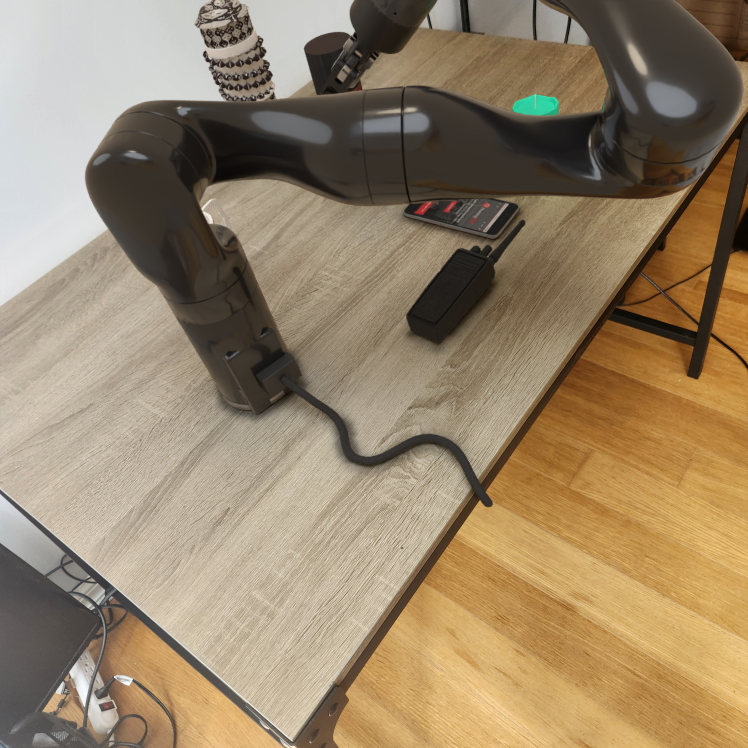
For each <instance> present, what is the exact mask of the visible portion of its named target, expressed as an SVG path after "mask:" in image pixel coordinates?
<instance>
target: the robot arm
mask: <svg viewBox="0 0 748 748" xmlns="http://www.w3.org/2000/svg"><path fill="white" fill-rule="evenodd" d="M538 1H539V2H540V3H542V4H543V5H544V6H546V7H548V8H550V9H551V10H554V11H555V12H557V13H560V14H563V15H565V16H567V17H569V18H571V19H572V20H573V21H575V22H576V23H577V24H578V25H579V26H580V27H581V29H582V30H583V31H584V33H585V34H586V35H587V37H588V39H589V40H590V42H591V44H592V46H593V49H594V51H595V53H596V55H597V57H598V60H599V62H600V65H601V67H602V71H603V73H604V77H605V79H606V80H605V81H606V83H607V89H606V91H605V96H604V99H603V103H602V107H601V109H597V110H592V111H585V112H578V113H577V112H576V113H575V112H574V113H564V114H563V113H562V114H559V115H527V114H521V113H517V112H513V111H512V110H510V109H507V108H503V107H500V106H497V105H494V104H493V103H492V104H491V103H489V102H486V101H484V100H481V99H479V98H476V97H473V96H471V95H468V94H466V93H462V92H460V91H456V90H453V89H450V88H446V87H441V86H435V85H428V84H427V85H426V84H420V85H419V84H415V85H406V86H405V85H401V86H400V85H399V86H389V87H377V88H369V89H363V90H359V91H352V92H346V91H347V90H348V88H353V87H355V85H356V84H357V83H358V81H359V80H361V78H362V77H363V75H364V74H365V73H366V71H369V70H370V69H371V68H372V67H373V65H374V64H375V62H376V61H377V59H378V58H379V57H380V56H381V54H386V55H395V54H398V53H400V52H402V51H403V50H404V48H406V46H407V44H408V43H409V42H410V41H411V39H412V37H413V36H414V35H415V34H416V32H417V31H418V29H419V28H420V26H421V25H422V24H423V22H424V21H425V19H426V18H427V17H428V15H429V14H430V13H431V11H432V10H433V8H434V7H435V5H436V4H437V2H438V0H353V1H352V3H351V4H350V7H349V12H348V13H349V20H350V24H351V26H352V28H353V29H354V32H353V33H352V34H351V35H350V37H349V39H348V40H347V42H346V43H345V45H344V46H343V52H342V53H341V55H340V56H339V58H338V59H337V61H336V62H335V64H334V65H333V67H332V69H331V71H332V73H331V74H330V76H329V78H328V79H327V81H326V82H325V84H324V86H322V87H321V89H320V90H321V91H320V92H319V93H320V94H321V95H317V94H315V95H303V96H292V97H282V98H276V99H273V100H263V101H223V100H198V99H197V100H196V99H195V100H194V99H193V100H191V99H156V100H146V101H142V102H139V103H137V104H133V105H132V106H130V107H128V108H127V109H125V110H123V112H122V113H120V114H119V115H118V116H117V117H116V119H115V120H114V121H113V123H112V124H111V126H110V127H109V128H108V130H107V132H106V133H105V134H104V136H103V137H102V139H101V141H100V142H99V143H98V145H97V147H96V149H95V150H94V152H93V153H92V155H91V156H90V158H89V160H88V162H87V164H86V167H85V170H84V184H85V188H86V191H87V195H88V198H89V199H90V202H91V203H92V205H93V208H94V209H95V211H96V213H97V215H98V216H99V218H100V219H101V221H102V223H104V225H105V227H106V228H107V230H108V231H109V233H110V234H111V235H112V237H113V238H114V240H115V241H116V242H117V244H118V245H119V247H120V248H121V249H122V251H123V252H124V254H125V255H126V257H127V258H128V260H129V261H130V262H131V264H132V265H133V266H134V268H135V269H136V270H137V271H138V272H139V273H140V274H141V276H143V277H144V278H145V279H146V280H148V281H149V282H151V283H152V284H153V285H155V286H156V287H157V290H158V291H159V292H160V294H161V295H162V297H163V298H164V300H165V301H166V303H167V305H168V307H169V309H170V310H171V311H172V314H173V315H174V317H175V319H176V320H177V322H178V324H179V325H180V327H181V329H182V330H183V332H184V333H185V335H186V337H187V339H188V340H189V342H190V344H191V345H192V347H193V349H194V351H195V352H196V354H197V356H198V357H199V358H200V360H201V362H202V363H203V365H204V367H205V368H206V370H207V372H208V373H209V375H210V377H211V378H212V380H213V381H214V383H215V385H216V386H217V388H218V390H219V393H220V395H221V397H222V399H224V401H225V402H226V403H227V404H228V405H229V406H231V407H233V408H234V409H238V410H244V411H251V412H253V414H255V415H259V414H261V413H262V412H263V411H265V410H266V409H267V408H269V407H270V406H272V405H273V404H274V403H276V402H277V401H279V400H281V399H282V398H283V397H285V396H286V395H288V393H290V392H291V391H292V392H293V393H294V394H295V395H297V396H298V397H300V398H301V399H303V401H305V402H307V403H308V404H309V405H310V406H313V407H314V408H315V409H317V410H318V411H320V412H321V413H323V414H324V415H326V416H327V417H328V418H330V419H331V420H332V422H333V423H334V424H335V426H336V428H337V431H338V433H339V434H338V435H339V439H340V444H341V448H342V451H343V454H344V456H345V457H346V458H347V459H348V460H349V461H351V462H353V463H354V464H358V465H360V466H361V465H362V466H374V465H379V464H382V463H384V462H386V461H389V460H391V459H392V458H394V457H396V456H398V455H399V454H402V453H403V452H405V451H406V450H408V449H410V448H413V447H414V446H417V445H420V444H425V443H431V444H437V445H439V446H442V447H444V448H446V449H447V450H449V451H450V452H451V454H452V455H453V456H454V457H455V459H456V460H457V461H458V464H459V465H460V467H461V469H462V471H463V474H464V476H465V478H466V480H467V481H468V482H467V483H469V485H470V487H471V489H472V490H473V492H474V493H475V495H476V497H477V498H478V500H479V501H480V503H481V504H482V505H483V506H484V507H485V508H491V507H493V505H494V503H493V500H492V499H491V497H490V496H489V494H488V492H487V491H486V490H485V488H484V487H483V485H482V484H481V482H480V480H479V478H478V477H477V474H476V473H475V471H474V469H473V467H472V465H471V462H470V460H469V459H468V457H467V455H466V454H465V452H464V451H463V449H462V448H461V447H460V446H459V445H458V444H457V443H456V442H454V441H452V440H451V439H449V438H447V437H445V436H442V435H440V434H435V433H421V434H417V435H415V436H412V437H409V438H407V439H405V440H403V441H401V442H400V443H398V444H396V445H394V446H393V447H391V448H389V449H387V450H385V451H383V452H381V453H379V454H376V455H371V456H364V455H360V454H359V453H356V452H355V451H354V450H353V449H352V447H351V444H350V438H349V432H348V429H347V426H346V424H345V421H344V420H343V418H342V417H341V416H340V415H339V413H338V412H336V410H334V409H333V408H332V407H331V406H329V405H328V404H326V403H325V402H323V401H321V400H320V399H318V398H317V397H316V396H314V395H313V394H311V393H310V392H309V391H307V390H306V389H305V388H304V387H302V386H301V385H300V383H299V381H298V379H300V378H301V377H302V376H303V374H302V372H301V370H300V367H299V366H298V362H297V360H296V358H295V357H294V356H292V354H291V353H290V352H289V349H288V347H287V345H286V343H285V340H284V338H283V336H282V334H281V331H280V330H279V326H278V324H277V322H276V321H275V318H274V316H273V313H272V311H271V309H270V307H269V305H268V302H267V299H266V298H265V296H264V293H263V291H262V289H261V287H260V285H259V282H258V280H257V277H256V276H255V273H254V270H253V268H252V265H251V264H250V262H249V259H248V257H247V255H246V252H245V249H244V248H243V245H242V243H241V241H240V238H239V237H238V236H237V234H236V233H235V232H234V231H233V230H232V229H231V230H230V229H229V228H227V227H225V226H224V225H222V224H219V223H218V224H217V223H215V224H209V223H208V222H207V220H206V218H205V216H204V214H203V212H202V207H201V202H202V199H203V197H204V194H205V193H206V190H207V188H209V187H211V186H214V185H219V184H224V183H230V182H240V181H253V180H255V181H256V180H271V181H278V182H283V183H285V184H286V183H287V184H289V185H292V186H296V187H297V188H300V189H302V190H305V191H308V192H310V193H312V194H314V195H317V196H320V197H322V198H324V199H327V200H329V201H333V202H335V203H339V204H344V205H347V206H354V207H383V206H384V207H386V206H400V205H401V206H402V205H409V204H411V203H412V204H417V203H426V202H434V201H445V200H467V199H488V198H494V199H504V198H518V197H519V198H520V197H562V198H563V197H566V198H588V199H607V200H610V199H611V200H651V199H652V200H653V199H658V198H663V197H668V196H672V195H674V194H677V193H679V192H682V191H684V190H686V189H687V188H689V187H690V186H691V185H693V184H694V183H695V182H697V181H698V180H699V179H700V178H701V176H702V175H704V173H705V172H706V171H707V169H708V168H709V167H710V165H711V163H712V162H713V159H714V157H715V155H716V154H717V153H718V151H719V149H720V147H721V146H722V144H723V142H724V141H725V139H726V137H727V135H728V134H729V132H730V130H731V128H732V126H733V125H734V122H735V120H736V118H737V116H738V114H739V112H740V109H741V106H742V103H743V98H744V93H745V87H744V86H745V85H744V80H743V78H744V77H743V74H742V72H741V70H740V66H739V65H738V64H737V61H735V59H734V57H733V56H732V55H731V53H730V52H729V51H728V49H727V48H726V47H725V45H723V44H722V42H721V41H720V40H719V39H717V37H716V36H715V35H714V34H713V33H712V32H711V31H710V30H709V29H708V28H706V26H704V24H702V23H701V22H700V21H699V20H697V18H696V17H694V16H693V14H691V13H690V12H689V11H688V10H687V9H686V8H684V7H683V6H682V5H681V4H680V3H679V2H678V1H677V0H538ZM345 56H346V57H345ZM344 57H345V59H344ZM343 59H344V61H343ZM358 72H359V73H358ZM357 73H358V75H357ZM356 75H357V76H356Z"/></svg>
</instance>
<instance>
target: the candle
mask: <svg viewBox="0 0 748 748" xmlns="http://www.w3.org/2000/svg"><path fill="white" fill-rule="evenodd" d="M511 111H513V112H517V113H521V114H527V115H560V114H559V113H560V101H559V100H558V99H557V97H556V96H547V95H543V94H537V93H534V94H531V95H529V96H527V97H524V98H522V99H518V100H516V101H514V103H513V106H512V109H511Z"/></svg>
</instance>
